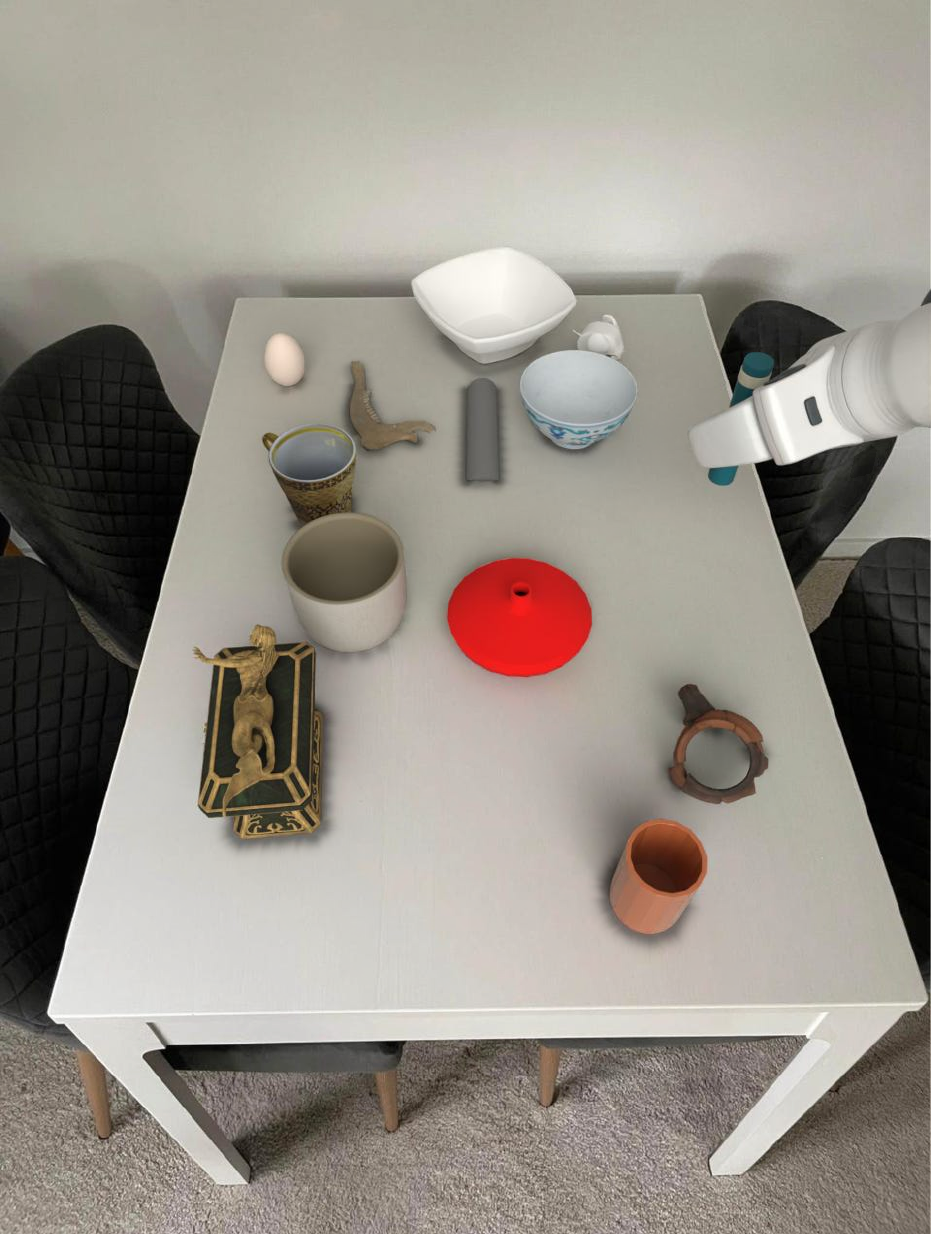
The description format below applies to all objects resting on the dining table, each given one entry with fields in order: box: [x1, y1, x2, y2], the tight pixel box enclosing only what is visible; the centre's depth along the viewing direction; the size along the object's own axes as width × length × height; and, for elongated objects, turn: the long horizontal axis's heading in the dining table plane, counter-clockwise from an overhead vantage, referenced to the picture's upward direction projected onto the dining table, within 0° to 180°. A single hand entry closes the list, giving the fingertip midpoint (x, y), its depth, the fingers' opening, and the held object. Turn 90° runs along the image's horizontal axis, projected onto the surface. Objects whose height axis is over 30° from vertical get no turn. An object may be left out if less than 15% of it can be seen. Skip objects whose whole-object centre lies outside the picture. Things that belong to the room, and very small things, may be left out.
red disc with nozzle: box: [446, 557, 593, 678], centre depth 88 cm, size 16×16×7 cm
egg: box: [263, 332, 306, 387], centre depth 114 cm, size 6×6×8 cm
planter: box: [281, 511, 408, 653], centre depth 88 cm, size 12×12×11 cm
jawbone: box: [349, 360, 437, 451], centre depth 113 cm, size 9×20×2 cm, turn 37°
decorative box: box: [192, 623, 323, 840], centre depth 72 cm, size 20×10×20 cm, turn 5°
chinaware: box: [519, 349, 639, 450], centre depth 108 cm, size 15×15×8 cm
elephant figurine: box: [572, 314, 626, 361], centre depth 118 cm, size 7×8×6 cm
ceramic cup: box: [261, 422, 357, 526], centre depth 99 cm, size 13×10×10 cm
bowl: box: [410, 246, 578, 364], centre depth 119 cm, size 21×21×9 cm
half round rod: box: [465, 377, 500, 482], centre depth 110 cm, size 4×20×2 cm, turn 0°
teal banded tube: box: [707, 351, 775, 487], centre depth 78 cm, size 3×3×14 cm
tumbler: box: [609, 818, 708, 935], centre depth 70 cm, size 6×6×10 cm
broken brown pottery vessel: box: [668, 683, 769, 805], centre depth 80 cm, size 12×10×8 cm
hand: (734, 418), depth 78 cm, fingers closed on teal banded tube, 2 cm apart
